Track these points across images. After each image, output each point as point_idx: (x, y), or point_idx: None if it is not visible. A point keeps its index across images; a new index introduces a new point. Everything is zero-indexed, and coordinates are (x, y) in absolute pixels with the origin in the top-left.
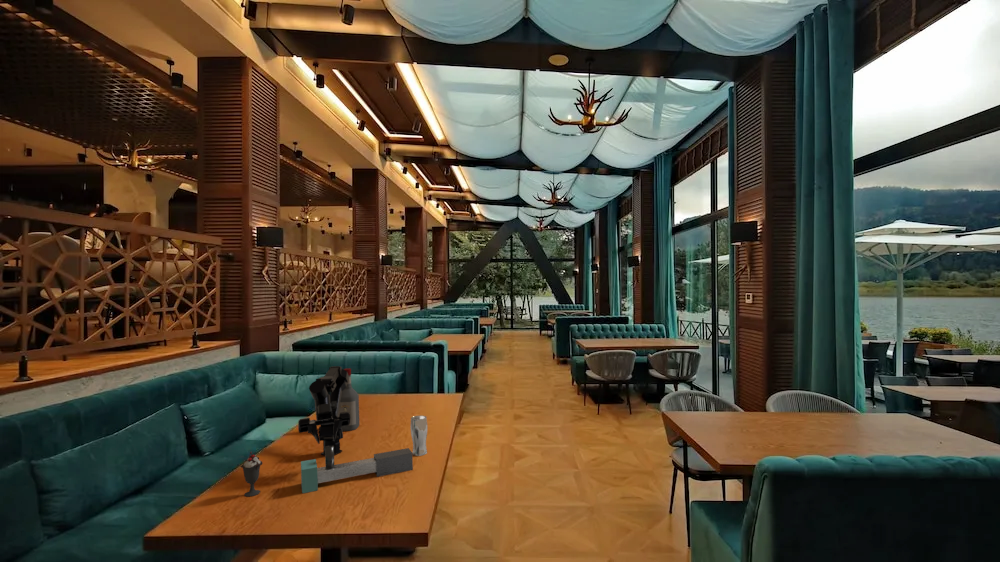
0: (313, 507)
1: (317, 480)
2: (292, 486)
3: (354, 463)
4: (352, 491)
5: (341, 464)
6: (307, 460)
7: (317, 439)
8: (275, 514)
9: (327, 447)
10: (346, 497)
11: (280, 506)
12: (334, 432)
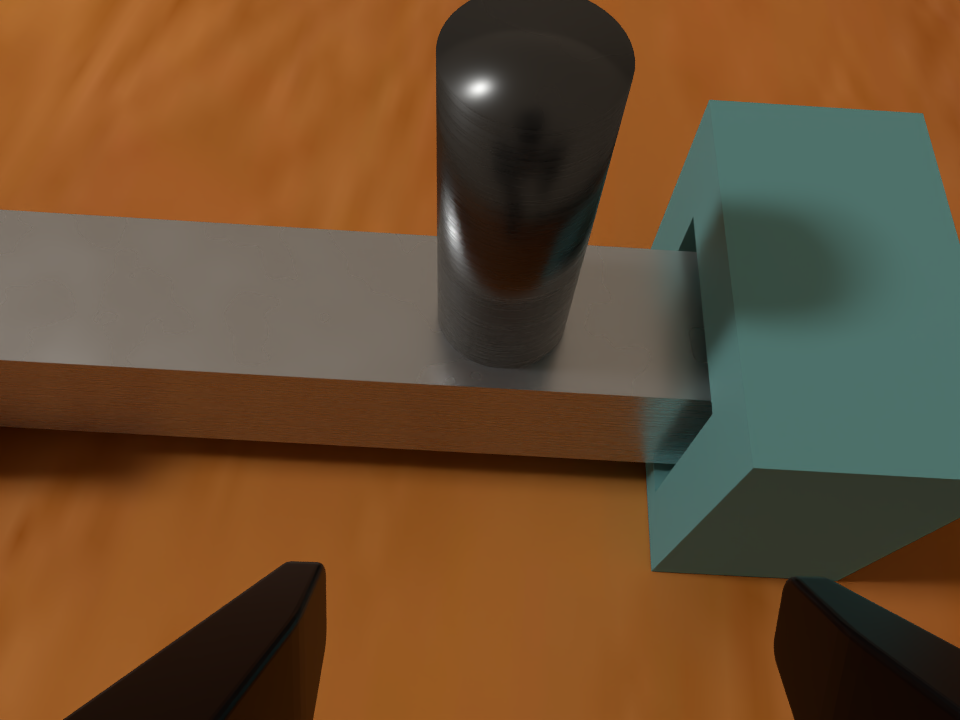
0: (672, 10)
1: (663, 220)
2: (938, 558)
3: (139, 276)
4: (327, 106)
5: (321, 339)
6: (905, 470)
7: (908, 624)
8: (952, 42)
9: (582, 31)
10: (404, 34)
11: (948, 143)
12: (193, 703)
